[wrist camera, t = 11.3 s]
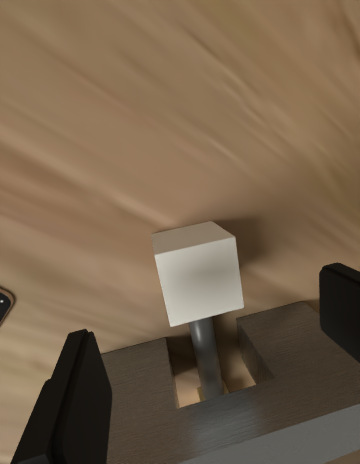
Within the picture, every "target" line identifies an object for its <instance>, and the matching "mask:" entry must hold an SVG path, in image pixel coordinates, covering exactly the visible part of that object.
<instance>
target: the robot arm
mask: <svg viewBox="0 0 360 464" xmlns="http://www.w3.org/2000/svg"><path fill="white" fill-rule="evenodd" d="M319 292H320V327H321V329H322V331H323V332H324V333H325V334H326V335H327V336H328V337H329V338H331V339H332V340H333V341H334V342H335V343H336V344H338V345H339V346H340V347H341V348H342V349H344V350H345V351H346V352H347V353H348V354H349V355H351V356H352V357H353V358H354V359H355V360H356V361H358V362H359V363H360V272H359V271H357V270H354V269H352V268H350V267H348V266H345V265H343V264H341V263H333V264H329V265H326V266H323V267H322V270H321V271H320V273H319ZM111 408H112V388H111V385H110V382H109V379H108V376H107V372H106V369H105V366H104V363H103V360H102V357H101V354H100V351H99V348H98V345H97V342H96V339H95V336H94V333H93V332H92V331H91V332H88V331H87V329H83V330H79V331H75V332H72V333H69V334H68V336H67V339H66V341H65V344H64V346H63V349H62V351H61V354H60V356H59V359H58V362H57V364H56V367H55V369H54V372H53V374H52V377H51V379H48V380H47V381H46V382H45V383H44V385H43V387H42V390H41V392H40V394H39V397H38V399H37V401H36V404H35V406H34V409H33V411H32V413H31V416H30V418H29V420H28V423H27V425H26V428H25V430H24V432H23V435H22V437H21V440H20V442H19V444H18V447H17V449H16V451H15V454H14V456H13V459H12V461H11V463H10V464H106V462H107V451H108V441H109V430H110V419H111ZM323 464H360V449H359V450H357V451H354V452H352V453H349V454H346V455H344V456H341V457H339V458H336V459H334V460H331V461H328V462H326V463H323Z"/></svg>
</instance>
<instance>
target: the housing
mask: <svg viewBox="0 0 360 464" xmlns="http://www.w3.org/2000/svg"><path fill="white" fill-rule="evenodd" d="M236 320H237V328H238V336H239V344H240V351H241V358H242V360H243V362H244V363H245V365H246V367H247V369H248V371H249V373H250V374H251V376H252V378H253V380H254V382H255V383H256V385H254V386H251V387H248V388H244V389H241V390H238V391H235V392H231V393H228V394H225V395H221V396H218V397H215V398H211V399H208V400H205V401H201V402H198V403H195V404H191V405H188V406H185V407H181V408H180V407H179V401H178V396H177V390H176V384H175V378H174V373H173V369H172V365H171V360H170V356H169V351H168V347H167V343H166V338H161V339H157V340H154V341H150V342H146V343H142V344H139V345H135V346H131V347H127V348H123V349H120V350H116V351H112V352H108V353H105V354H101V357H102V360H103V363H104V366H105V369H106V372H107V376H108V379H109V382H110V385H111V388H112V408H111V419H110V430H109V441H108V451H107V462H106V464H323V463H326V462H328V461H331V460H334V459H336V458H339V457H341V456H344V455H346V454H349V453H352V452H354V451H357V450H359V449H360V363H359V362H358V361H356V360H355V359H354V358H353V357H352V356H351V355H349V354H348V353H347V352H346V351H345V350H344V349H342V348H341V347H340V346H339V345H338V344H336V343H335V342H334V341H333V340H332V339H331V338H329V337H328V336H327V335H326V334H325V333H324V332H323V331H322V329H321V327H320V314H318V313H317V312H316V311H314V310H313V309H312V308H311V307H309V306H308V305H307V304H306V303H304V302H303V301H301V302H297V303H293V304H289V305H286V306H282V307H278V308H274V309H271V310H267V311H263V312H259V313H256V314H252V315H248V316H244V317H240V318H237V319H236Z"/></svg>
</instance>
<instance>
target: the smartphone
mask: <svg viewBox="0 0 360 464" xmlns="http://www.w3.org/2000/svg"><path fill="white" fill-rule="evenodd" d="M12 305H13V297H12V296H11V294H10V293H8V292H7V291H4V290H2V289H0V324H1V322H2V320H3V319H4V317H5V316H6V314H7V313H8V311H9V310H10V308H11V307H12Z"/></svg>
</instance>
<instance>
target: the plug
mask: <svg viewBox="0 0 360 464" xmlns="http://www.w3.org/2000/svg"><path fill="white" fill-rule="evenodd" d="M151 238H152V244H153V249H154V255H155V260H156V264H157V269H158V273H159V278H160V282H161V287H162V291H163V296H164V300H165V304H166V309H167V313H168V318H169V322H170V327H172V326H176V325H180V324H184V323H188V322H189V327H190V332H191V337H192V342H193V347H194V352H195V357H196V362H197V367H198V372H199V377H200V382H201V387H200V388H197V392H198V397H199V402H201V401H205V400H208V399H211V398H215V397H218V396H221V395H225V394H228V393H229V392H228V389H227V387H226V384H225V382H224V380H223V381H222V375H221V369H220V363H219V357H218V351H217V345H216V339H215V333H214V327H213V321H212V316H214V315H218V314H222V313H226V312H229V311H233V310H237V309H241V308H244V304H243V296H242V288H241V280H240V272H239V264H238V256H237V247H236V239H235V236H233V235H232V234H230V233H229V232H227V231H226V230H224V229H223V228H221V227H220V226H218V225H217V224H215V223H214V222H212V221H209V222H205V223H200V224H195V225H191V226H186V227H182V228H177V229H172V230H168V231H163V232H159V233H154V234H151Z"/></svg>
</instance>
